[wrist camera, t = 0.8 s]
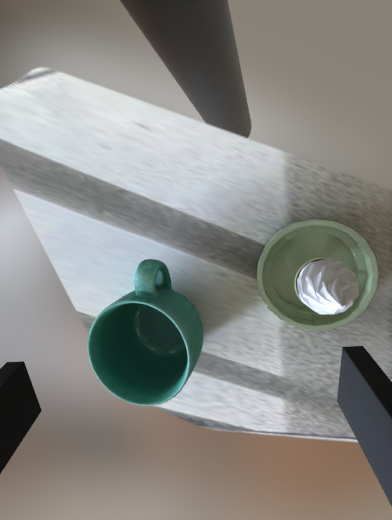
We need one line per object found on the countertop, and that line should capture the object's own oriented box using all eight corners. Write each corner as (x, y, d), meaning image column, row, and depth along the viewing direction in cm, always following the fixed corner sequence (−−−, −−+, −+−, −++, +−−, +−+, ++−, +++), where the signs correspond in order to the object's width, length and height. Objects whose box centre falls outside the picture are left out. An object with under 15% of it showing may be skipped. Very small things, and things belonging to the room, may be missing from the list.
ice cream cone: (343, 266, 33) (400, 307, 19) (311, 297, 35) (341, 356, 20) (309, 238, 34) (340, 257, 19) (279, 269, 35) (287, 308, 21)
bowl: (264, 214, 35) (264, 214, 31) (375, 224, 32) (389, 225, 29) (252, 309, 37) (251, 320, 34) (355, 325, 35) (366, 339, 31)
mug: (199, 376, 41) (179, 423, 32) (120, 350, 43) (80, 386, 34) (223, 264, 37) (209, 280, 28) (135, 243, 40) (96, 252, 31)
